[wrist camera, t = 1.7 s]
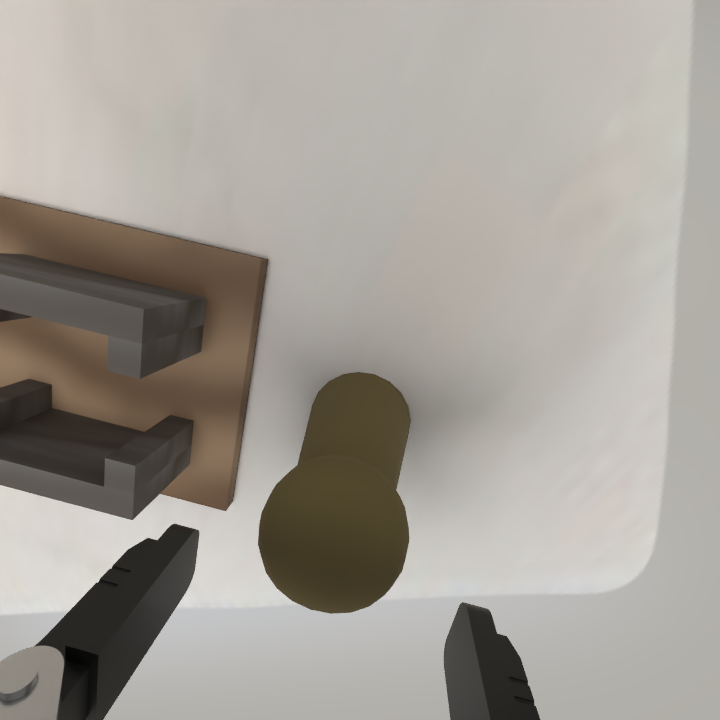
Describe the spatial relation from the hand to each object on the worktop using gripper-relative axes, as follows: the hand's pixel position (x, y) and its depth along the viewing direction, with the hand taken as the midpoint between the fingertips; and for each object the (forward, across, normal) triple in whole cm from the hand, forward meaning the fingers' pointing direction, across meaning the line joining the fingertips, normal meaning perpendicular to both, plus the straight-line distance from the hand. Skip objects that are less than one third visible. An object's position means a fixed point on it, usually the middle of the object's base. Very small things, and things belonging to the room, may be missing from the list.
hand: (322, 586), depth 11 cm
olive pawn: (+12, 0, 0) cm, 12 cm away
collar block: (+11, +15, 0) cm, 19 cm away
